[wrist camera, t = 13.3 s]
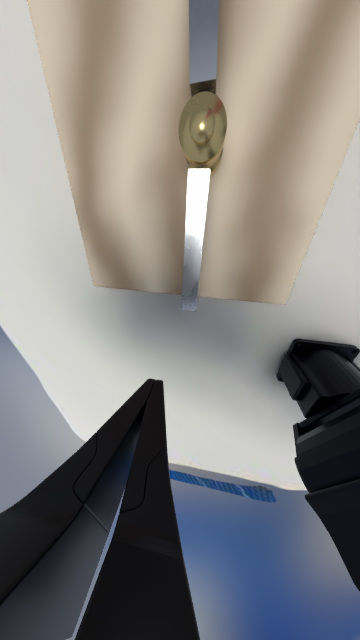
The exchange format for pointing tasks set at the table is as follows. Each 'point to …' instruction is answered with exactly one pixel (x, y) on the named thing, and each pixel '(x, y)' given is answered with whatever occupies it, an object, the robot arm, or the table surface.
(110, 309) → the table surface
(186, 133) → the fixed leaf
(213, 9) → the swing leaf
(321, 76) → the board
